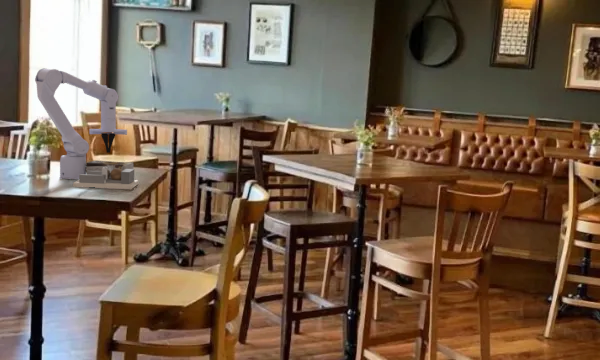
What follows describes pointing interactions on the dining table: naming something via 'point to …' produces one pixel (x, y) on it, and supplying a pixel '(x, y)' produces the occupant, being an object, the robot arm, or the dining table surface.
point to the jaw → (107, 171)
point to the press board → (106, 180)
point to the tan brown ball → (116, 174)
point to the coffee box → (100, 164)
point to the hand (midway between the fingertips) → (108, 152)
